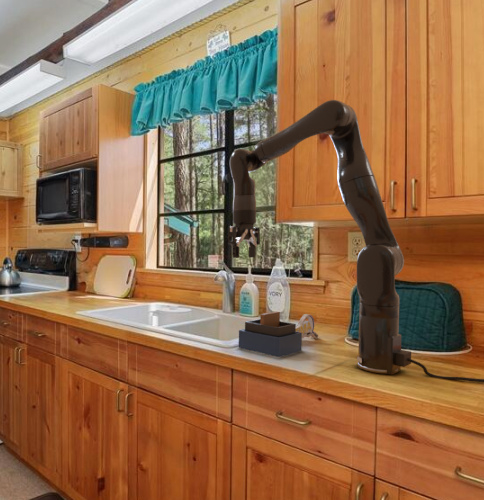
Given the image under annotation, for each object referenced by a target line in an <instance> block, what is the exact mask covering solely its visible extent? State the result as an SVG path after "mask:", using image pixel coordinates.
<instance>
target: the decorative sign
mask: <svg viewBox="0 0 484 500" xmlns="http://www.w3.org/2000/svg"><path fill="white" fill-rule="evenodd" d="M314 330H315V320H314V317H313V316H312V315H311V314H307V313H305V314H302V316H301V317H300V319H299V320H298V324H296V332H301V333H302V339H304V338H310V337H312V338H313V339H315V340H316V339H318V338H319V334H318V333H317V332H316V331H314Z"/></svg>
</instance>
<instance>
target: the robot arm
mask: <svg viewBox="0 0 484 500" xmlns="http://www.w3.org/2000/svg"><path fill="white" fill-rule="evenodd" d="M320 134H325V135H328V136H329V138H330V140H331V141H332V143H333V146H334V149H335V151H336V156H337V168H336V169H337V171H336V180H337V187H338V189H339V193H340V196H341V199H342V202H343V204H344V206H345V208H346V210H347V211H348V213H349V214H350V216H351V217H352V219H353V220H354V222H355V223H356V225H357V227H358V228H359V230H360V232H361V234H362V237H363V241H364V245H365V246H364V247H363V248H362V249H361V250H360V251H359V253H358V255H357V258H356V259H357V260H356V290H357V295H358V296H359V313H358V314H359V319H358V355H356V361H357V367H358V368H359V369H361V370H362V371H365V372H370V373H374V374H383V375H385V374H386V375H390V376H393V375H394V374H397V373H399V372H401V369H402V367H403V368H405V367H408V366H409V365H411V364H415V365H417V366H419V367H420V368H421V369H422V370H423V372H424V374H425V375H427V376H428V377H431V378H436V379H443V380H450V381H466V382H474V383H484V378H473V377H464V376H442V375H436V374H433V373H431V372H429V371H428V369H427V367H426V366H425V365H424V364H422V363H421V362H419V361H417V360H414V359H412V351H409V350H404V349H402V334H400V333H399V330H400V329H399V328H400V327H399V326H400V295H399V294H398V293H397V290H396V281H395V277H396V276H397V275H399V274H400V273H401V272H402V270H403V268H404V264H405V257H404V254H403V252H402V249H401V246H400V245H399V243H398V240H397V238H396V236H395V234H394V231H393V229H392V228H391V225H390V222H389V219H388V216H387V212H386V208H385V205H384V202H383V199H382V195H381V193H380V192H381V191H380V187H379V185H378V182H377V180H376V177H375V174H374V171H373V168H372V166H371V163H370V160H369V158H368V155H367V153H366V150H365V147H364V143H363V139H362V135H361V131H360V125H359V120H358V116H357V113H356V111H355V110H354V108H353V107H352V106H350V105H349V104H347V103H345V102H342V101H341V100H338V99H330V100H327V101H324V102H323V103H320V105H318V106H317V107H315V108H314V109H313V110H311V111H310V112H308V113H307V114H305V115H304V116H302V117H301V118H299V119H298V120H297V121H295V122H294V123H292V124H291V125H288V126H287V127H285V128H284V129H282V130H280V131H278V132H276V133H274V134H272V135H270V136H268V137H266V138H265V139H262V140H260V141H259V142H258V143H256V144H255V147H254V149H252V150H248V149H245V148H244V149H243V148H237V149H235V150H233V151H232V153H231V155H230V158H229V169H230V174H231V178H232V181H233V201H232V223H233V224H234V225H232V226H231V225H229V226H227V227H228V228H227V229H228V230H227V244H228V245H230V246H231V248H232V249H231V250H232V251H231V255H232V258H233V259H239V258H240V244H241V243H242V242H243V241H245V242H247V243H248V258H251V259H252V258H256V247H257V246H259V245H260V244H261V230H260V226H259V227H258V226H255V227H254V224H256V222H257V199H256V181H255V179H253V178H252V177H251V176H250V173H252V172H255V171H257V170H259V169H261V168H262V167H263V166H265V165H266V164H267V163H269V162H271V161H273V160H275V159H278V158H279V157H282V156H284V155H285V154H288V153H289V152H290V151H292V150H293V149H294V148H295V147H296V146H298V144H300V143H302V142H303V141H304V140H306V139H309V138H311V137H314V136H318V135H320Z"/></svg>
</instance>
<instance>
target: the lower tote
mask: <svg viewBox="0 0 484 500" xmlns="http://www.w3.org/2000/svg"><path fill="white" fill-rule="evenodd" d="M302 341H303V340H302V333H301V332H296V334H292V335H287V336H283V337H279V338H278V337H273V336H268V335H263V334H258V333H253V332H248V331H245V328H242V329H239V330H238V348H240V349H243V350H247V351H251V352H256V353H260V354H264V355H269V356H272V357H278V358H281V357H284V356H289V355H291V354H294V353H299V352H301V351H302V347H303V346H302V345H303V344H302V343H303V342H302Z"/></svg>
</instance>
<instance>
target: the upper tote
mask: <svg viewBox="0 0 484 500" xmlns="http://www.w3.org/2000/svg"><path fill="white" fill-rule="evenodd" d="M280 320H281V312H280V311H272V312H265V313H260V318H258V319H253V320H247V321H245V322H244V329H245V331H248V332H253V333H258V334H263V335H268V336H273V337H278V338H279V337H283V336H287V335H292V334H296V326H297V324H296V323H293V322H287V321H280Z"/></svg>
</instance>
